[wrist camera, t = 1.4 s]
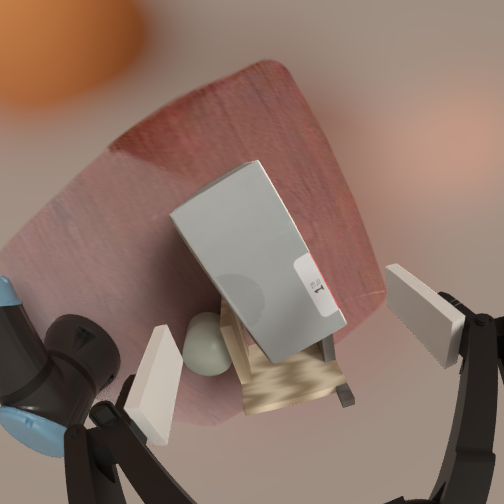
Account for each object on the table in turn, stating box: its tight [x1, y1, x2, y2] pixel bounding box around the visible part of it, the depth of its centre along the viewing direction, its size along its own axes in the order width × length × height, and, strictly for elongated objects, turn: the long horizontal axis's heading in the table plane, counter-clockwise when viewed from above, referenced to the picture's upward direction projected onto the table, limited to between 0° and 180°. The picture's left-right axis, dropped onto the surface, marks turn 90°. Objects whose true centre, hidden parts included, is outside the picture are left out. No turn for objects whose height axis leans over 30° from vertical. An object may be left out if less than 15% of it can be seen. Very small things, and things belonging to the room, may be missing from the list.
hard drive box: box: [169, 160, 347, 364], centre depth 31 cm, size 16×8×20 cm, turn 30°
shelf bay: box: [220, 296, 355, 415], centre depth 37 cm, size 14×11×17 cm
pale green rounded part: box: [182, 312, 232, 376], centre depth 42 cm, size 7×7×7 cm
